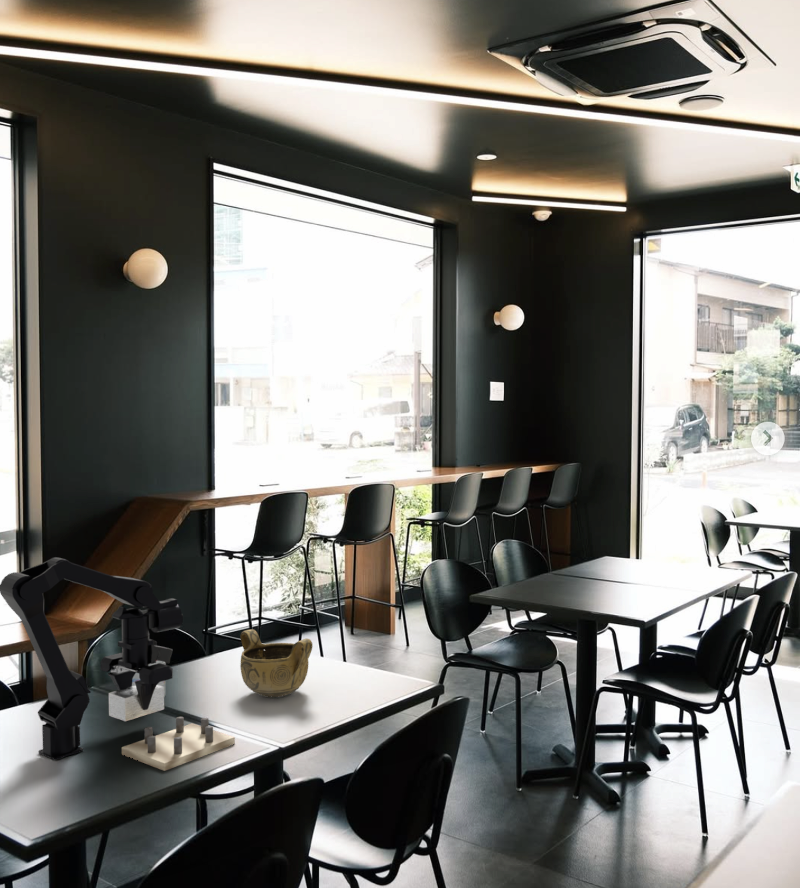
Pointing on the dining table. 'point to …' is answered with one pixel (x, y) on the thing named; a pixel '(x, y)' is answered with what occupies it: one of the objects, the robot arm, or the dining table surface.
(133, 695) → the block
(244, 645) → the ceramic bowl
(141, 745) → the pin tray
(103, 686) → the dining table surface
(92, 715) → the dining table surface
